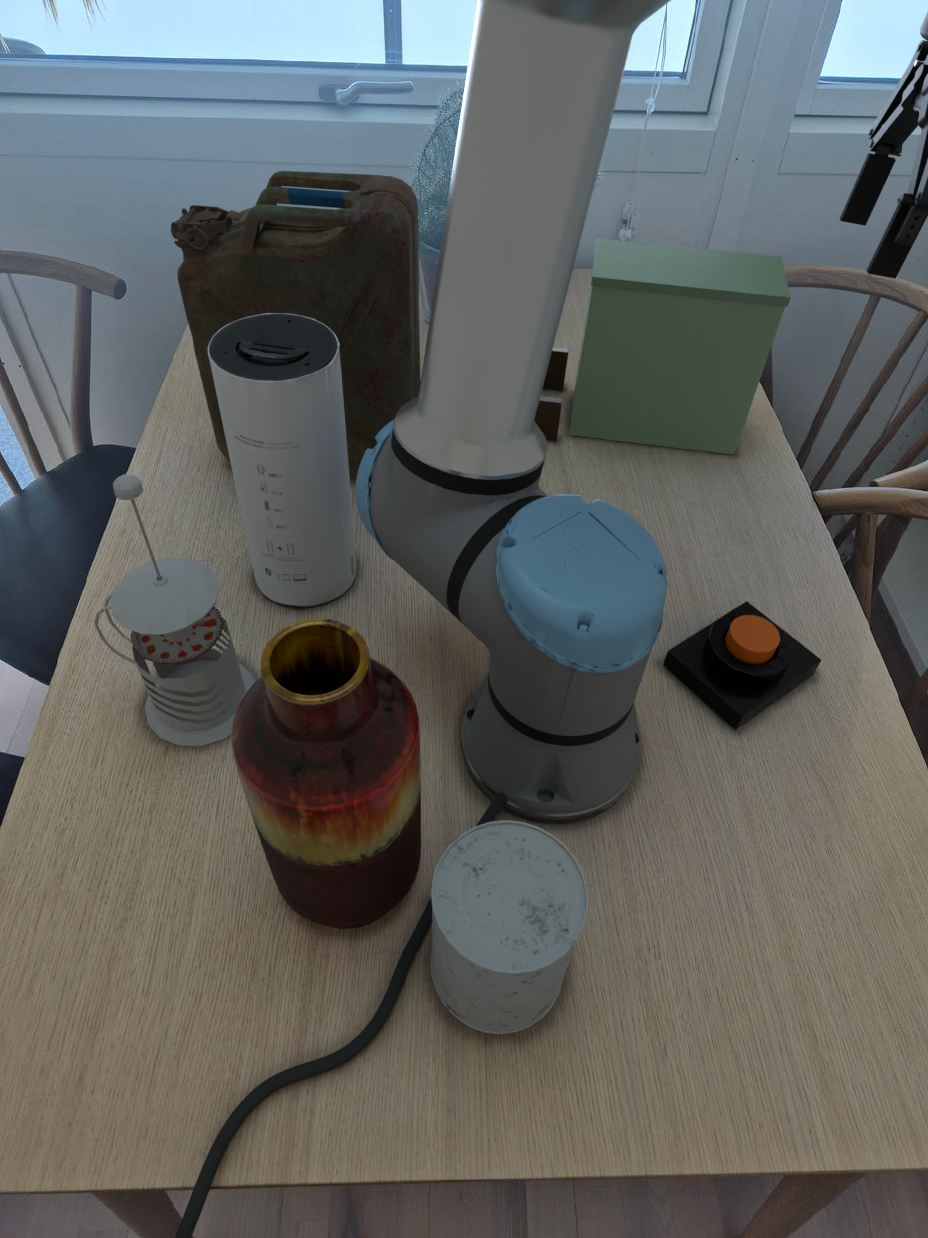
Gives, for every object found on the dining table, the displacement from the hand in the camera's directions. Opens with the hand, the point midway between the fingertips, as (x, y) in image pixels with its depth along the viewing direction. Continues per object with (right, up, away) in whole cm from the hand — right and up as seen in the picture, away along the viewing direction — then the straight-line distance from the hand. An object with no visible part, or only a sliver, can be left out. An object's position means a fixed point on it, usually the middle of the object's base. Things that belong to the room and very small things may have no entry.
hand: (865, 247), depth 84 cm
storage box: (-17, -13, +19) cm, 29 cm away
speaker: (-57, -33, 0) cm, 66 cm away
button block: (-15, -43, -6) cm, 46 cm away
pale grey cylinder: (-39, -63, -25) cm, 78 cm away
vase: (-50, -57, -21) cm, 79 cm away
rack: (-36, -11, +21) cm, 43 cm away
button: (-15, -40, -9) cm, 44 cm away
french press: (-65, -45, -10) cm, 80 cm away
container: (-58, -19, +13) cm, 62 cm away
